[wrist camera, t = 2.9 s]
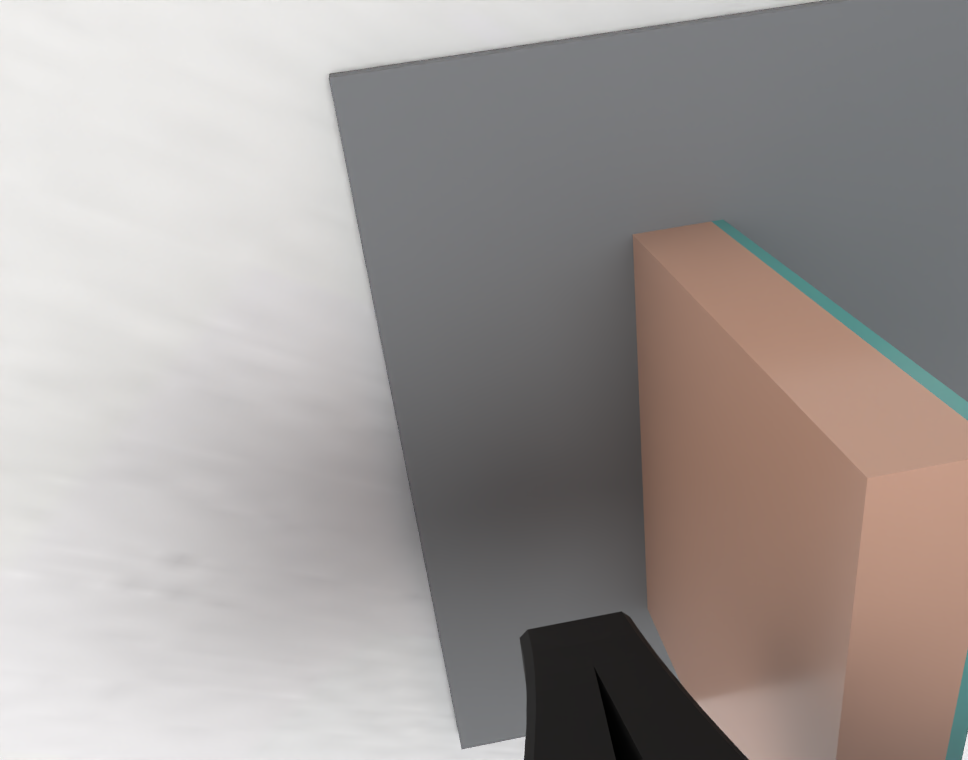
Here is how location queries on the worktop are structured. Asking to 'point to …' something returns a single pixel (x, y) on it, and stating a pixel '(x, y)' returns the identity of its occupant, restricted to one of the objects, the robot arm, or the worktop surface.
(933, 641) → the glazed tile
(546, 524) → the rubber mat
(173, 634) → the worktop surface
